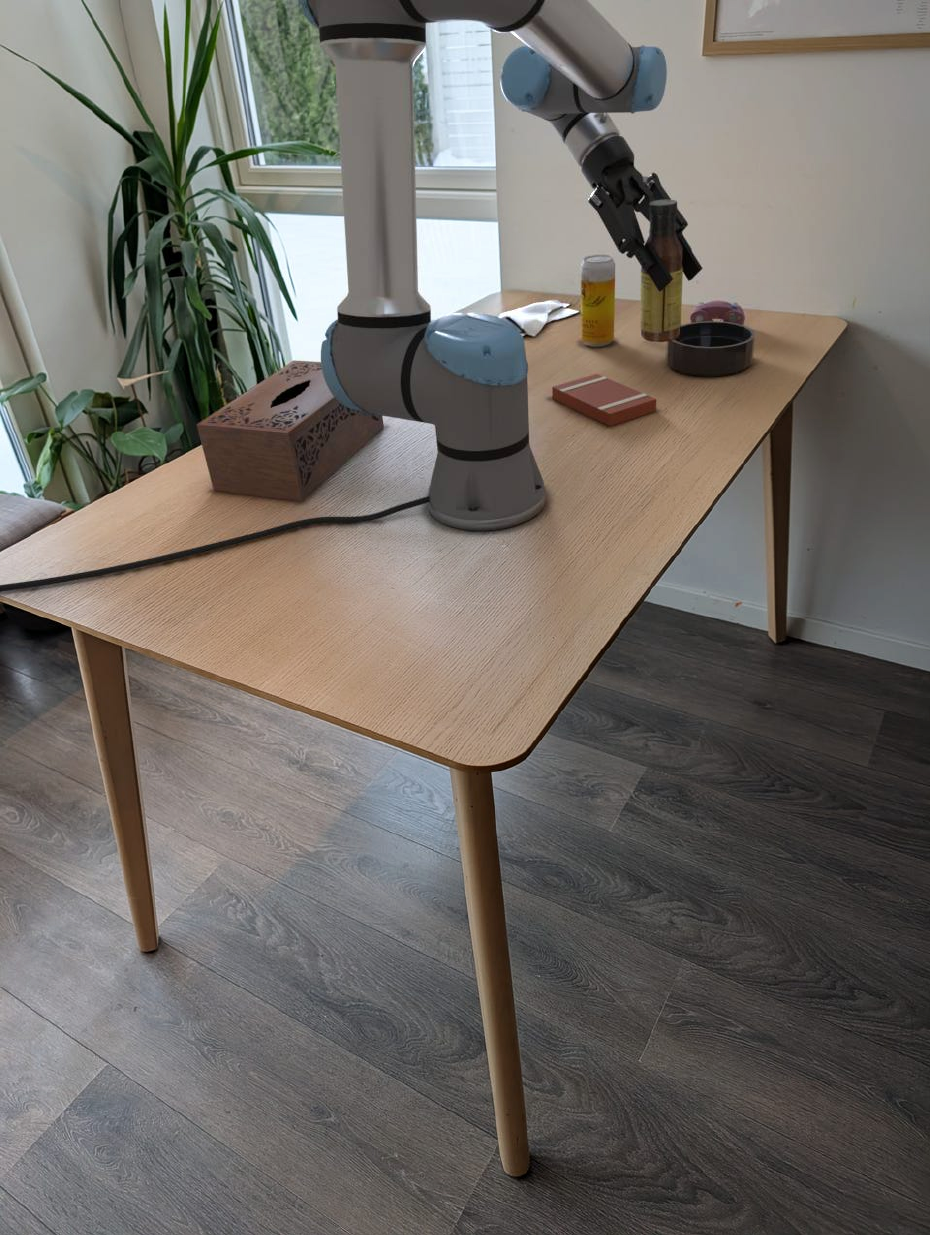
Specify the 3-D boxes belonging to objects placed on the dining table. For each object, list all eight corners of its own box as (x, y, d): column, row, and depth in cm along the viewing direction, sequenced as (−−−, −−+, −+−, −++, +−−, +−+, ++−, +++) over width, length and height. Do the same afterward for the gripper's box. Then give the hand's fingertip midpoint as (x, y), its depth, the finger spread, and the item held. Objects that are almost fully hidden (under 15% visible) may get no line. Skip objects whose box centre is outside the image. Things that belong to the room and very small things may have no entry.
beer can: (575, 341, 168) (574, 258, 159) (602, 335, 170) (603, 252, 161) (592, 349, 163) (592, 264, 155) (620, 343, 165) (622, 258, 156)
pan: (706, 384, 145) (708, 354, 142) (649, 362, 155) (650, 333, 153) (769, 363, 150) (773, 334, 148) (710, 344, 161) (712, 316, 158)
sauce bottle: (678, 330, 143) (687, 196, 132) (681, 343, 138) (692, 204, 127) (636, 332, 144) (642, 198, 132) (639, 344, 139) (645, 206, 127)
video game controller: (688, 339, 168) (688, 311, 162) (690, 322, 170) (691, 293, 164) (742, 340, 165) (745, 311, 159) (744, 322, 167) (747, 293, 161)
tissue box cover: (301, 501, 121) (287, 433, 116) (213, 490, 126) (196, 424, 121) (383, 427, 141) (375, 365, 135) (304, 420, 146) (293, 360, 140)
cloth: (537, 300, 192) (536, 289, 191) (591, 307, 185) (591, 296, 183) (462, 335, 176) (461, 323, 175) (518, 344, 169) (518, 332, 167)
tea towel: (609, 426, 134) (609, 413, 133) (552, 398, 145) (551, 386, 144) (656, 411, 137) (656, 398, 136) (596, 385, 148) (596, 373, 147)
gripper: (568, 143, 126) (653, 278, 125) (656, 123, 136) (736, 249, 135) (543, 181, 133) (624, 310, 132) (629, 160, 142) (705, 280, 141)
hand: (680, 279), depth 133 cm, fingers closed on sauce bottle, 6 cm apart
